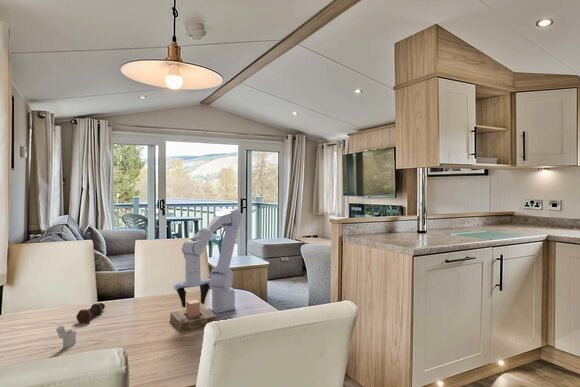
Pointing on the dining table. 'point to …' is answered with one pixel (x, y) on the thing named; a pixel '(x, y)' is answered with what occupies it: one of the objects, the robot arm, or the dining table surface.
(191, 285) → the robot arm
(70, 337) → the grey thin upright piece
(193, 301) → the peg
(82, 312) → the dark brown elongated piece
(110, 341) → the dining table surface
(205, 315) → the slot block
